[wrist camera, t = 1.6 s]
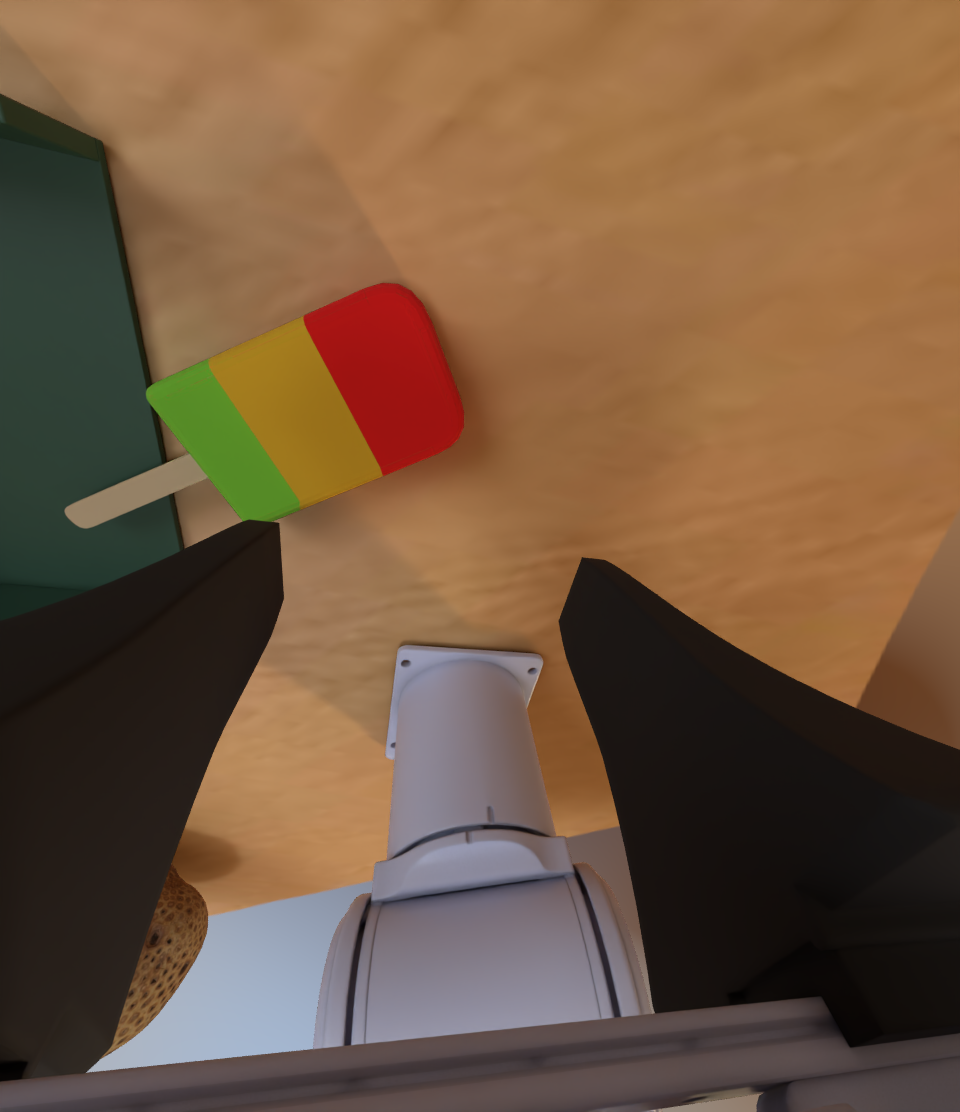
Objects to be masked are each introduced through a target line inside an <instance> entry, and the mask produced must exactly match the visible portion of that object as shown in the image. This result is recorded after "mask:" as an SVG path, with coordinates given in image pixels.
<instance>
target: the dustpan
mask: <svg viewBox="0 0 960 1112" xmlns="http://www.w3.org/2000/svg"><path fill="white" fill-rule="evenodd" d="M150 386H151V383H150V378H149V373H148V368H147V363H146V358H145V353H144V348H143V343H142V338H141V333H140V328H139V323H138V318H137V313H136V308H135V303H134V298H133V293H132V288H131V283H130V278H129V273H128V268H127V263H126V258H125V253H124V248H123V243H122V238H121V233H120V228H119V223H118V218H117V213H116V208H115V203H114V198H113V193H112V188H111V183H110V178H109V173H108V168H107V163H106V158H105V153H104V148H103V143H102V141H100V140H98V139H96V138H93V137H91V136H89V135H87V134H85V133H83V132H81V131H78V130H76V129H74V128H72V127H70V126H68V125H66V124H64V123H61V122H59V121H57V120H55V119H53V118H51V117H49V116H47V115H44V114H42V113H40V112H38V111H36V110H34V109H32V108H30V107H27V106H25V105H23V104H21V103H19V102H17V101H15V100H12V99H10V98H8V97H6V96H4V95H2V94H0V621H1V620H4V619H8V618H11V617H15V616H18V615H21V614H24V613H27V612H30V611H33V610H36V609H39V608H41V607H44V606H47V605H50V604H53V603H56V602H59V601H61V600H64V599H67V598H70V597H73V596H76V595H78V594H81V593H84V592H86V591H89V590H92V589H94V588H97V587H99V586H102V585H104V584H107V583H109V582H112V581H114V580H116V579H119V578H121V577H123V576H125V575H128V574H130V573H132V572H135V571H137V570H139V569H142V568H144V567H146V566H149V565H151V564H153V563H155V562H158V561H160V560H162V559H165V558H167V557H169V556H171V555H173V554H175V553H177V552H179V551H182V550H184V548H183V543H182V538H181V533H180V528H179V523H178V518H177V513H176V508H175V503H174V498H173V493H171V494H169V495H167V496H164V497H162V498H160V499H157V500H155V501H152V502H150V503H148V504H145V505H143V506H141V507H138V508H136V509H134V510H131V511H129V512H127V513H124V514H122V515H119V516H117V517H115V518H112V519H110V520H108V521H105V522H103V523H101V524H98V525H96V526H94V527H91V528H81V527H79V526H77V525H75V524H74V523H73V522H72V521H71V520H70V519H69V518H68V517H67V516H66V514H65V509H66V507H68V506H69V505H71V504H73V503H74V502H77V501H79V500H81V499H84V498H86V497H88V496H91V495H93V494H95V493H98V492H100V491H102V490H105V489H107V488H109V487H112V486H114V485H116V484H118V483H121V482H123V481H125V480H128V479H130V478H132V477H135V476H137V475H139V474H142V473H144V472H146V471H149V470H151V469H153V468H156V467H158V466H160V465H162V464H165V463H166V458H165V453H164V448H163V443H162V438H161V433H160V428H159V423H158V418H157V413H156V411H155V410H154V408H153V407H152V406H151V404H150V403H149V402H148V400H147V398H146V391H147V388H148V387H150Z"/></svg>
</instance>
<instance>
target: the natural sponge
mask: <svg viewBox="0 0 960 1112" xmlns="http://www.w3.org/2000/svg"><path fill="white" fill-rule="evenodd" d="M207 928H208V911H207V907H206V903H205V901H204V899H203V897H202V896H201V895H200V893H199V892H198V891H197V890H196V889H195V888H194V887H193V886H191V885H190V884H187V883H186V882H185V881H184V880H182V879H181V878H180V877H179V875H178V873H177V871H176V869H175V868H174V866H173V865H172V864H171V866H170V869H169V872H168V875H167V878H166V881H165V884H164V886H163V889H162V892H161V895H160V898H159V901H158V904H157V907H156V910H155V913H154V915H153V918H152V921H151V924H150V927H149V930H148V933H147V936H146V939H145V942H144V945H143V949H142V952H141V955H140V958H139V961H138V964H137V967H136V970H135V973H134V977H133V980H132V983H131V986H130V989H129V992H128V995H127V998H126V1002H125V1005H124V1008H123V1011H122V1014H121V1017H120V1021H119V1024H118V1027H117V1030H116V1034H115V1037H114V1040H113V1044H112V1047H111V1048H110V1049H109V1050H108V1051H107V1052H106V1053H105V1054H104V1055H103V1057H104V1056H106V1055H108V1054H110V1053H112V1052H113V1051H114V1050H116V1049H118V1048H119V1047H120V1046H122V1045H124V1044H125V1043H127V1042H128V1041H129V1040H131V1039H132V1038H133V1037H135V1036H136V1035H137V1034H138V1033H140V1032H141V1031H142V1030H143V1029H144V1028H145V1027H146V1026H147V1025H148V1024H149V1023H150V1022H151V1021H152V1020H153V1019H154V1018H155V1017H156V1016H157V1015H158V1014H159V1012H160V1011H161V1010H162V1008H163V1007H164V1006H165V1004H166V1003H167V1002H168V1000H169V999H170V998H171V997H172V995H173V994H174V993H175V991H176V990H177V988H178V987H179V985H180V984H181V982H182V981H183V979H184V978H185V976H186V974H187V973H188V971H189V970H190V968H191V966H192V965H193V963H194V962H195V960H196V958H197V956H198V954H199V952H200V950H201V948H202V945H203V942H204V939H205V937H206V934H207ZM103 1057H102V1058H103Z"/></svg>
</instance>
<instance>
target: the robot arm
mask: <svg viewBox="0 0 960 1112" xmlns="http://www.w3.org/2000/svg"><path fill="white" fill-rule="evenodd" d="M283 600H284V591H283V575H282V560H281V544H280V528H279V523H277V522H268V521H259V520H250V519H249V520H246V521H243V522H241V523H238V524H236V525H234V526H231V527H229V528H227V529H225V530H223V531H221V532H219V533H217V534H215V535H213V536H211V537H209V538H206V539H204V540H202V541H200V542H198V543H196V544H194V545H192V546H190V547H188V548H186V549H184V550H182V551H179V552H177V553H175V554H173V555H171V556H169V557H167V558H165V559H162V560H160V561H158V562H155V563H153V564H151V565H149V566H146V567H144V568H142V569H139V570H137V571H135V572H132V573H130V574H128V575H125V576H123V577H121V578H119V579H116V580H114V581H112V582H109V583H107V584H104V585H102V586H99V587H97V588H94V589H92V590H89V591H86V592H84V593H81V594H78V595H76V596H73V597H70V598H67V599H64V600H61V601H59V602H56V603H53V604H50V605H47V606H44V607H41V608H39V609H36V610H33V611H30V612H27V613H24V614H21V615H18V616H15V617H11V618H8V619H4V620H1V621H0V1112H662V1108H668V1107H674V1106H682V1105H688V1104H695V1103H702V1102H708V1101H715V1100H722V1099H728V1098H735V1097H742V1096H748V1095H754V1094H761V1093H763V1094H761V1095H760V1096H759V1099H758V1102H757V1112H960V750H958V749H956V748H953V747H951V746H948V745H945V744H943V743H940V742H937V741H935V740H932V739H929V738H926V737H924V736H921V735H919V734H916V733H914V732H911V731H908V730H906V729H904V728H901V727H899V726H897V725H894V724H892V723H889V722H887V721H885V720H882V719H880V718H878V717H875V716H873V715H870V714H868V713H866V712H863V711H861V710H859V709H857V708H854V707H852V706H850V705H848V704H846V703H843V702H841V701H839V700H837V699H834V698H832V697H830V696H828V695H826V694H824V693H822V692H820V691H818V690H816V689H814V688H812V687H810V686H808V685H806V684H804V683H801V682H799V681H797V680H795V679H793V678H791V677H789V676H787V675H786V674H784V673H782V672H780V671H778V670H776V669H774V668H772V667H770V666H768V665H767V664H765V663H763V662H761V661H760V660H758V659H756V658H754V657H753V656H751V655H749V654H747V653H745V652H744V651H742V650H740V649H738V648H737V647H735V646H733V645H732V644H730V643H728V642H727V641H725V640H723V639H722V638H720V637H719V636H717V635H716V634H714V633H712V632H711V631H709V630H708V629H706V628H705V627H703V626H702V625H700V624H699V623H697V622H696V621H694V620H693V619H691V618H690V617H688V616H687V615H685V614H684V613H682V612H681V611H679V610H678V609H677V608H675V607H674V606H672V605H671V604H669V603H668V602H667V601H665V600H664V599H662V598H661V597H660V596H658V595H657V594H655V593H654V592H653V591H651V590H650V589H648V588H647V587H646V586H644V585H643V584H641V583H640V582H639V581H637V580H636V579H634V578H633V577H631V576H630V575H629V574H627V573H626V572H624V571H623V570H621V569H620V568H618V567H617V566H615V565H613V564H612V563H610V562H608V561H606V560H601V559H592V558H583V557H582V559H581V562H580V564H579V567H578V570H577V573H576V575H575V578H574V581H573V583H572V586H571V589H570V592H569V594H568V597H567V600H566V602H565V605H564V608H563V611H562V613H561V616H560V619H559V626H560V631H561V636H562V641H563V646H564V650H565V654H566V658H567V661H568V664H569V666H570V669H571V672H572V675H573V677H574V680H575V683H576V686H577V688H578V691H579V693H580V696H581V699H582V701H583V704H584V707H585V709H586V712H587V715H588V717H589V720H590V723H591V725H592V728H593V731H594V733H595V736H596V739H597V742H598V745H599V748H600V751H601V754H602V757H603V761H604V764H605V768H606V772H607V776H608V780H609V783H610V787H611V791H612V795H613V799H614V803H615V807H616V811H617V816H618V820H619V824H620V829H621V833H622V837H623V842H624V846H625V851H626V856H627V861H628V865H629V870H630V875H631V880H632V885H633V890H634V895H635V900H636V905H637V911H638V917H639V923H640V929H641V935H642V940H643V946H644V952H645V958H646V964H647V970H648V976H649V984H650V991H651V998H652V1004H653V1008H654V1011H655V1014H651V1009H650V1004H649V1000H648V995H647V992H646V987H645V984H644V980H643V976H642V972H641V969H640V965H639V961H638V958H637V955H636V951H635V948H634V945H633V942H632V939H631V936H630V933H629V930H628V927H627V924H626V921H625V919H624V916H623V914H622V911H621V909H620V907H619V904H618V902H617V899H616V898H615V895H614V893H613V892H612V890H611V888H610V886H609V885H608V884H607V882H606V881H605V880H604V879H603V878H601V877H600V876H599V875H598V874H597V873H596V872H595V870H594V869H593V868H592V867H591V866H590V865H589V864H587V863H584V862H582V863H575V864H572V860H571V856H570V852H569V848H568V844H567V840H566V837H565V836H556V832H555V828H554V824H553V819H552V815H551V811H550V806H549V802H548V798H547V794H546V789H545V785H544V781H543V776H542V772H541V768H540V764H539V759H538V755H537V751H536V746H535V742H534V738H533V734H532V729H531V725H530V721H529V717H528V712H527V707H528V704H529V701H530V699H531V696H532V693H533V691H534V688H535V685H536V682H537V680H538V677H539V674H540V672H541V669H542V666H543V659H542V657H541V656H540V655H539V654H534V653H519V652H504V651H490V650H475V649H460V648H445V647H430V646H415V645H404V646H401V647H400V648H399V649H398V651H397V659H396V668H395V676H394V684H393V693H392V701H391V709H390V718H389V726H388V735H387V743H386V752H385V756H386V757H387V758H389V759H393V760H394V771H393V784H392V797H391V810H390V823H389V836H388V848H387V860H385V861H380V862H376V863H375V866H374V876H373V887H372V893H367V894H362V895H360V896H358V897H356V899H355V900H354V902H353V903H352V904H351V906H350V908H349V910H348V912H347V913H346V914H345V916H344V917H343V918H342V920H341V921H340V923H339V925H338V927H337V929H336V931H335V933H334V936H333V939H332V942H331V945H330V948H329V952H328V956H327V959H326V964H325V968H324V973H323V978H322V983H321V989H320V995H319V1001H318V1007H317V1015H316V1023H315V1033H314V1043H313V1049H310V1050H301V1051H291V1052H281V1053H272V1054H262V1055H252V1056H243V1057H233V1058H225V1059H214V1060H204V1061H195V1062H185V1063H176V1064H166V1065H157V1066H147V1067H137V1068H128V1069H118V1070H110V1071H99V1072H89V1073H86V1072H87V1071H88V1070H89V1069H90V1068H91V1067H92V1066H94V1064H96V1063H97V1062H98V1061H99V1060H100V1059H101V1058H102V1057H103V1055H104V1054H105V1053H106V1052H107V1051H108V1050H109V1049H110V1048H111V1047H112V1044H113V1040H114V1037H115V1034H116V1030H117V1027H118V1024H119V1021H120V1017H121V1014H122V1011H123V1008H124V1005H125V1002H126V998H127V995H128V992H129V989H130V986H131V983H132V980H133V977H134V973H135V970H136V967H137V964H138V961H139V958H140V955H141V952H142V949H143V945H144V942H145V939H146V936H147V933H148V930H149V927H150V924H151V921H152V918H153V915H154V913H155V910H156V907H157V904H158V901H159V898H160V895H161V892H162V889H163V886H164V884H165V881H166V878H167V875H168V872H169V869H170V866H171V863H172V860H173V857H174V855H175V852H176V849H177V847H178V844H179V841H180V838H181V836H182V833H183V830H184V828H185V825H186V822H187V819H188V817H189V814H190V811H191V808H192V806H193V803H194V800H195V798H196V795H197V793H198V790H199V788H200V785H201V782H202V780H203V777H204V775H205V772H206V770H207V767H208V764H209V762H210V759H211V757H212V754H213V752H214V749H215V747H216V745H217V743H218V741H219V738H220V736H221V734H222V732H223V730H224V727H225V726H226V724H227V722H228V720H229V718H230V716H231V714H232V712H233V710H234V708H235V706H236V704H237V702H238V700H239V698H240V696H241V694H242V693H243V691H244V689H245V687H246V685H247V683H248V681H249V679H250V677H251V675H252V673H253V671H254V669H255V667H256V665H257V663H258V661H259V659H260V657H261V655H262V653H263V651H264V650H265V648H266V646H267V643H268V641H269V639H270V637H271V635H272V632H273V629H274V627H275V624H276V621H277V618H278V615H279V612H280V609H281V606H282V603H283ZM403 660H408V661H407V662H405V661H403ZM530 668H533V669H530Z"/></svg>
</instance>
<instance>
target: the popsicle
mask: <svg viewBox="0 0 960 1112" xmlns="http://www.w3.org/2000/svg"><path fill="white" fill-rule="evenodd" d="M146 398H147V400H148V402H149V403H150V404H151V406H152V407H153V408H154V410H155V411H156V412H157V413H158V415H159V416H160V417H161V418H162V420H163V421H164V422H165V423H166V425H167V426H168V427H169V428H170V430H171V431H172V432H173V434H174V435H175V436H176V437H177V439H178V440H179V441H180V442H181V444H182V445H183V446H184V447H185V449H186V450H187V451H188V452H189V453H188V454H186V455H183V456H181V457H179V458H176V459H174V460H172V461H169V462H167V463H165V464H162V465H160V466H158V467H156V468H153V469H151V470H149V471H146V472H144V473H142V474H139V475H137V476H135V477H132V478H130V479H128V480H125V481H123V482H121V483H118V484H116V485H114V486H112V487H109V488H107V489H105V490H102V491H100V492H98V493H95V494H93V495H91V496H88V497H86V498H84V499H81V500H79V501H77V502H74V503H73V504H71V505H69V506H68V507H66V509H65V514H66V516H67V517H68V518H69V519H70V520H71V521H72V522H73V523H74V524H75V525H77V526H79V527H81V528H91V527H94V526H96V525H98V524H101V523H103V522H105V521H108V520H110V519H112V518H115V517H117V516H119V515H122V514H124V513H127V512H129V511H131V510H134V509H136V508H138V507H141V506H143V505H145V504H148V503H150V502H152V501H155V500H157V499H160V498H162V497H164V496H167V495H169V494H171V493H174V492H176V491H178V490H181V489H183V488H186V487H188V486H190V485H193V484H195V483H197V482H200V481H202V480H204V479H207V478H209V479H210V480H211V482H212V483H213V484H214V485H215V487H216V488H217V489H218V490H219V492H220V493H221V494H222V495H223V497H224V498H225V499H226V500H227V502H228V503H229V504H230V506H231V507H232V508H233V509H234V511H235V512H236V513H237V514H238V516H239V517H240V518H241V519H242V521H246V520H249V519H250V520H259V521H268V522H272V521H274V520H277V519H279V518H282V517H284V516H287V515H289V514H291V513H294V512H296V511H299V510H301V509H304V508H306V507H309V506H311V505H314V504H316V503H318V502H321V501H323V500H326V499H328V498H331V497H333V496H336V495H338V494H340V493H343V492H345V491H348V490H350V489H353V488H355V487H358V486H360V485H363V484H365V483H367V482H370V481H372V480H375V479H377V478H380V477H382V476H385V475H387V474H389V473H392V472H394V471H397V470H399V469H402V468H404V467H407V466H409V465H411V464H414V463H416V462H419V461H421V460H424V459H426V458H429V457H431V456H433V455H436V454H438V453H440V452H442V451H444V450H445V449H447V448H449V447H451V446H452V445H453V444H454V443H455V442H456V441H457V440H458V439H459V437H460V435H461V432H462V430H463V428H464V410H463V406H462V402H461V398H460V395H459V393H458V390H457V387H456V385H455V382H454V379H453V377H452V374H451V371H450V369H449V366H448V363H447V361H446V358H445V356H444V353H443V350H442V348H441V345H440V342H439V340H438V337H437V334H436V332H435V329H434V326H433V324H432V321H431V319H430V317H429V315H428V313H427V311H426V309H425V307H424V305H423V303H422V302H421V301H420V300H419V299H418V298H417V297H416V295H415V294H414V293H413V292H412V291H411V290H409V289H407V288H405V287H403V286H401V285H399V284H391V283H381V284H377V285H374V286H371V287H367V288H364V289H362V290H360V291H358V292H355V293H353V294H351V295H349V296H346V297H344V298H342V299H340V300H338V301H335V302H333V303H331V304H329V305H326V306H324V307H322V308H320V309H318V310H315V311H313V312H311V313H309V314H307V315H304V316H302V317H300V318H298V319H295V320H293V321H291V322H289V323H287V324H284V325H282V326H280V327H278V328H275V329H273V330H271V331H269V332H267V333H264V334H262V335H260V336H258V337H255V338H253V339H251V340H249V341H247V342H244V343H242V344H240V345H238V346H236V347H233V348H231V349H229V350H227V351H224V352H222V353H220V354H218V355H216V356H213V357H211V358H209V359H207V360H205V361H202V362H200V363H198V364H196V365H193V366H191V367H189V368H187V369H185V370H182V371H180V372H178V373H176V374H173V375H171V376H169V377H167V378H165V379H162V380H160V381H158V382H156V383H154V384H153V385H151V386H150V387H148V388H147V391H146Z"/></svg>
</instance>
